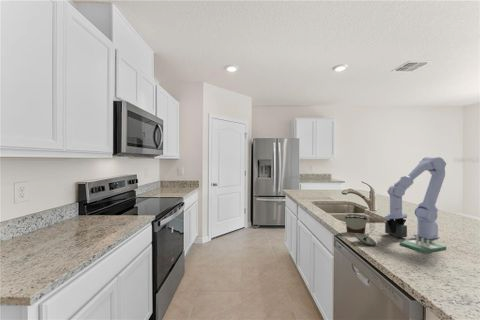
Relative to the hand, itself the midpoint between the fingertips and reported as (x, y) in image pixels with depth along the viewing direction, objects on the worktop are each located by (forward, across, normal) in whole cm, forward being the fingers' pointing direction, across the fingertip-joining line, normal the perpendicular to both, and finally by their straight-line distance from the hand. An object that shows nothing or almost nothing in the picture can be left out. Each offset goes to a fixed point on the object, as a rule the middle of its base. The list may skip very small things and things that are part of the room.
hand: (395, 232), depth 136 cm
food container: (+2, +15, -14) cm, 21 cm away
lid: (+3, +25, +3) cm, 25 cm away
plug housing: (+1, 0, -1) cm, 2 cm away
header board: (+2, +3, +16) cm, 16 cm away
